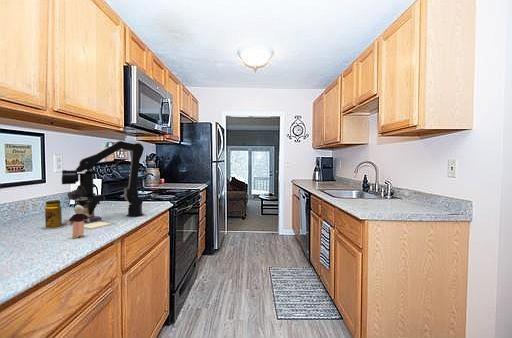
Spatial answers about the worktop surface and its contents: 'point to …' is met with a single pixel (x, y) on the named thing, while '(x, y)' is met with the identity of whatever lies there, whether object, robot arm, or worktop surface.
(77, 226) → the grandmother figurine
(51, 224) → the condiment
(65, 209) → the worktop surface
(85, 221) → the ink pad
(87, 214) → the stamp
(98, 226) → the cream square plate
